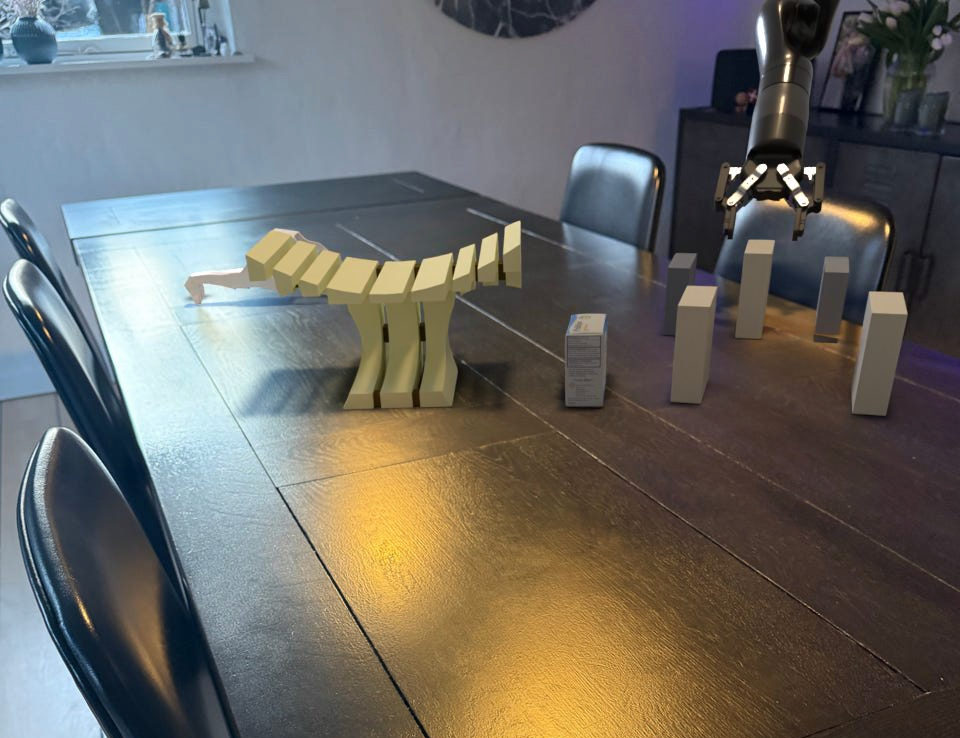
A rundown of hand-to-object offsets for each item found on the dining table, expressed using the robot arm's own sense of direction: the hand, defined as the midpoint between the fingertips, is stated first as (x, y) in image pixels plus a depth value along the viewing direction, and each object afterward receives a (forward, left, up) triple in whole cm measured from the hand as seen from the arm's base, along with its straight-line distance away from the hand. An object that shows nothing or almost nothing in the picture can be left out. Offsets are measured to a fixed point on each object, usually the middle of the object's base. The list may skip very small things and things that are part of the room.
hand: (762, 237), depth 125 cm
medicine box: (+37, -1, -12) cm, 39 cm away
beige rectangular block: (+3, +2, -11) cm, 12 cm away
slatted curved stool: (+47, -22, -12) cm, 54 cm away
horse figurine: (+32, -69, -12) cm, 77 cm away
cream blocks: (+24, +17, -11) cm, 32 cm away
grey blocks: (+3, +2, -11) cm, 12 cm away
